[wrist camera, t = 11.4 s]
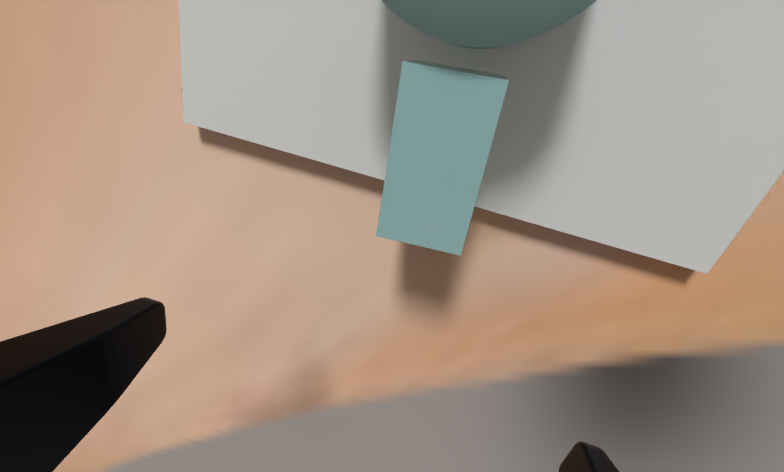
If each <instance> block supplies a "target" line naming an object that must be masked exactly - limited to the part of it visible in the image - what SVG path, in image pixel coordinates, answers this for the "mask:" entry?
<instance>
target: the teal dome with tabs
mask: <svg viewBox="0 0 784 472" xmlns="http://www.w3.org/2000/svg"><path fill="white" fill-rule="evenodd" d="M596 1H597V0H382V2H383V3H384V4H385V5H386V6H387V7H388V8H389V9H390V10H391V11H392V12H393V13H394V14H396V15H397V16H398V17H399V18H401V19H402V20H403V21H404V22H406V23H407V24H409V25H410V26H412V27H414V28H415V29H417V30H419V31H420V32H422V33H424V34H426V35H429V36H431V37H434V38H436V39H438V40H441V41H443V42H446V43H449V44H452V45H455V46H459V47H463V48H468V49H478V50H479V49H494V48H499V47H505V46H508V45H511V44H515V43H518V42H521V41H524V40H527V39H530V38H533V37H536V36H539V35H541V34H544V33H546V32H548V31H550V30H552V29H554V28H556V27H558V26H561V25H562V24H564V23H565V22H567V21H569V20H570V19H572V18H573V17H575V16H577V15H578V14H580V13H581V12H583V11H584V10H585V9H587V8H588V7H589V6H590V5H592V4H593V3H594V2H596ZM508 83H509V80H508V79H507V78H506V77H505V76H504V75H500V74H495V73H489V72H484V71H478V70H472V69H467V68H461V67H455V66H450V65H444V64H439V63H433V62H427V61H422V60H410V61H403V62H402V68H401V75H400V82H399V88H398V95H397V101H396V108H395V115H394V121H393V128H392V135H391V141H390V148H389V154H388V161H387V168H386V174H385V181H384V188H383V194H382V201H381V207H380V214H379V221H378V227H377V234H376V236H379V237H383V238H387V239H392V240H396V241H400V242H404V243H409V244H413V245H417V246H421V247H426V248H430V249H434V250H438V251H443V252H447V253H451V254H455V255H460V256H461V253H462V250H463V246H464V242H465V239H466V235H467V232H468V228H469V224H470V221H471V217H472V213H473V210H474V206H475V203H476V199H477V195H478V192H479V188H480V184H481V181H482V177H483V173H484V170H485V166H486V163H487V159H488V155H489V152H490V148H491V144H492V141H493V137H494V133H495V130H496V126H497V123H498V119H499V115H500V112H501V108H502V104H503V101H504V97H505V94H506V90H507V86H508Z"/></svg>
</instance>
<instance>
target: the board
mask: <svg viewBox="0 0 784 472" xmlns="http://www.w3.org/2000/svg"><path fill="white" fill-rule="evenodd" d="M179 20H180V48H181V75H182V103H183V122H184V123H188V124H191V125H195V126H198V127H201V128H205V129H208V130H212V131H215V132H219V133H222V134H226V135H229V136H233V137H236V138H239V139H243V140H246V141H250V142H253V143H257V144H260V145H264V146H267V147H271V148H274V149H277V150H281V151H284V152H288V153H291V154H295V155H298V156H302V157H305V158H309V159H312V160H315V161H319V162H322V163H326V164H329V165H333V166H336V167H340V168H343V169H347V170H350V171H353V172H357V173H360V174H364V175H367V176H371V177H374V178H378V179H381V180H385V174H386V168H387V161H388V154H389V148H390V141H391V135H392V128H393V121H394V115H395V108H396V101H397V95H398V88H399V82H400V75H401V68H402V62H403V61H410V60H422V61H427V62H433V63H439V64H444V65H450V66H455V67H461V68H467V69H472V70H478V71H484V72H489V73H495V74H500V75H504V76H505V77H506V78H507V79H508V80H509V83H508V86H507V90H506V94H505V97H504V101H503V104H502V108H501V112H500V115H499V119H498V123H497V126H496V130H495V133H494V137H493V141H492V144H491V148H490V152H489V155H488V159H487V163H486V166H485V170H484V173H483V177H482V181H481V184H480V188H479V192H478V195H477V199H476V203H475V206H474V207H478V208H481V209H485V210H488V211H492V212H495V213H498V214H502V215H505V216H509V217H512V218H516V219H519V220H523V221H526V222H530V223H533V224H536V225H540V226H543V227H547V228H550V229H554V230H557V231H561V232H564V233H568V234H571V235H574V236H578V237H581V238H585V239H588V240H592V241H595V242H599V243H602V244H606V245H609V246H612V247H616V248H619V249H623V250H626V251H630V252H633V253H637V254H640V255H644V256H647V257H650V258H654V259H657V260H661V261H664V262H668V263H671V264H675V265H678V266H682V267H685V268H688V269H692V270H695V271H699V272H702V273H706V274H707V273H708V272H709V270H710V269H711V267H712V266H713V265H714V263H715V262H716V261H717V259H718V258H719V257H720V255H721V254H722V253H723V251H724V250H725V249H726V247H727V246H728V245H729V243H730V242H731V241H732V239H733V238H734V237H735V235H736V234H737V233H738V231H739V230H740V229H741V227H742V226H743V225H744V223H745V222H746V221H747V219H748V218H749V217H750V215H751V214H752V212H753V211H754V210H755V208H756V207H757V206H758V204H759V203H760V202H761V200H762V199H763V198H764V196H765V195H766V194H767V192H768V191H769V190H770V188H771V187H772V186H773V184H774V183H775V182H776V180H777V179H778V178H779V176H780V175H781V174H782V172H783V171H784V0H597V1H596V2H594V3H593V4H592V5H590V6H589V7H588V8H587V9H585V10H584V11H583V12H581V13H580V14H578V15H577V16H575V17H573V18H572V19H570V20H569V21H567V22H565V23H564V24H562V25H561V26H558V27H556V28H554V29H552V30H550V31H548V32H546V33H544V34H541V35H539V36H536V37H533V38H530V39H527V40H524V41H521V42H518V43H515V44H511V45H508V46H505V47H499V48H494V49H479V50H478V49H468V48H463V47H459V46H455V45H452V44H449V43H446V42H443V41H441V40H438V39H436V38H434V37H431V36H429V35H426V34H424V33H422V32H420V31H419V30H417V29H415V28H414V27H412V26H410V25H409V24H407V23H406V22H404V21H403V20H402V19H401V18H399V17H398V16H397V15H396V14H394V13H393V12H392V11H391V10H390V9H389V8H388V7H387V6H386V5H385V4H384V3H383V2H382V0H179Z"/></svg>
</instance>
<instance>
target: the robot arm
mask: <svg viewBox="0 0 784 472" xmlns="http://www.w3.org/2000/svg"><path fill="white" fill-rule="evenodd" d="M165 335H166V317H165V307H164V305H163V303H161V302H159V301H156V300H153V299H150V298H139V299H136V300H133V301H129V302H126V303H123V304H120V305H117V306H113V307H110V308H107V309H104V310H101V311H97V312H94V313H91V314H88V315H85V316H81V317H78V318H75V319H72V320H69V321H65V322H62V323H59V324H56V325H52V326H49V327H46V328H43V329H40V330H36V331H33V332H30V333H27V334H24V335H20V336H17V337H14V338H11V339H8V340H4V341H1V342H0V472H52V471H53V470H54V469H55V468H56V467H57V466H58V465H59V464H60V463H61V462H62V461H63V459H64V458H65V457H66V456H67V455H68V454H69V453H70V452H71V451H72V450H73V449H74V447H75V446H76V445H77V444H78V443H79V442H80V441H81V440H82V439H83V438H84V437H85V436H86V434H87V433H88V432H89V431H90V430H91V429H92V428H93V427H94V426H95V425H96V424H97V422H98V421H99V420H100V419H101V418H102V417H103V416H104V415H105V414H106V413H107V411H108V410H109V409H110V408H111V407H112V406H113V405H114V404H115V402H116V401H117V400H118V399H119V397H120V396H121V395H122V394H123V392H124V391H125V390H126V388H127V387H128V386H129V385H130V383H131V382H132V381H133V379H134V378H135V377H136V375H137V374H138V373H139V371H140V370H141V369H142V368H143V366H144V365H145V364H146V362H147V361H148V360H149V358H150V357H151V356H152V354H153V353H154V352H155V351H156V349H157V348H158V347H159V345H160V344H161V343H162V341H163V339H164V338H165ZM559 472H619V471H618V469H617V468H616V467H615V466H614V464H613V463H612V461H611V460H610V459H609V458H608V456H607V455H606V453H605V452H604V451H603V450H602V449H601V448H599V447H597V446H594V445H591V444H588V443H585V442H578V443H576V444H575V445H574V447H573V448H572V450H571V451H570V452H569V454H568V455H567V456H566V458H565V459H564V461H563V462H562V463H561V466H560V468H559Z"/></svg>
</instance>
